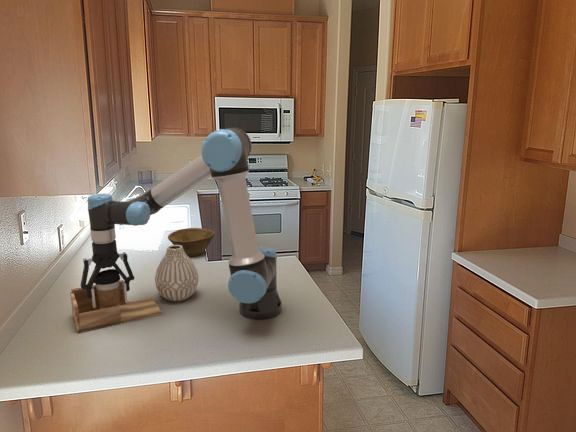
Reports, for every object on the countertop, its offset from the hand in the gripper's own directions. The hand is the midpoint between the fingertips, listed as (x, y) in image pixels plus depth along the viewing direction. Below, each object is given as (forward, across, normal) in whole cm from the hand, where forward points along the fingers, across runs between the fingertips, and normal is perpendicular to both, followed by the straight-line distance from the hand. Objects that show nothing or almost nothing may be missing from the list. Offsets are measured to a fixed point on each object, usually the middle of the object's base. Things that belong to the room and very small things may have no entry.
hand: (110, 303), depth 159 cm
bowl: (+5, -47, -53) cm, 71 cm away
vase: (+5, -25, -5) cm, 26 cm away
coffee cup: (+4, 0, 0) cm, 4 cm away
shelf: (+5, -2, 0) cm, 5 cm away
